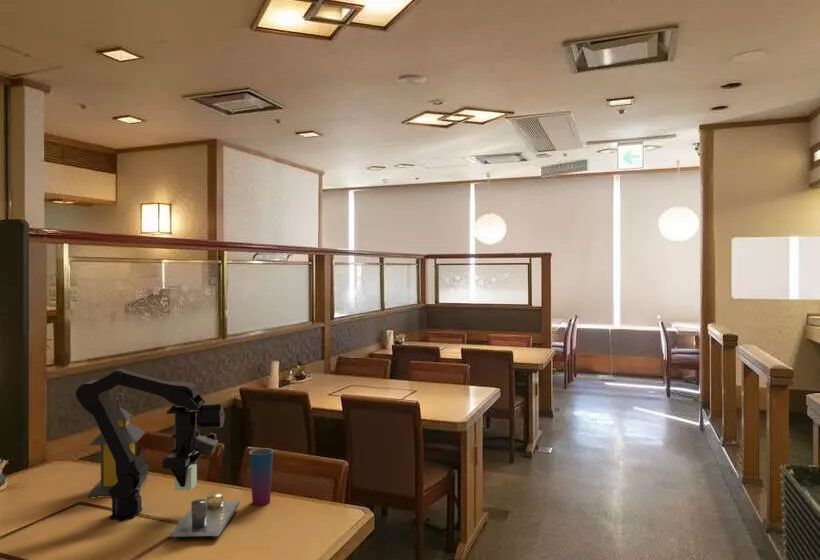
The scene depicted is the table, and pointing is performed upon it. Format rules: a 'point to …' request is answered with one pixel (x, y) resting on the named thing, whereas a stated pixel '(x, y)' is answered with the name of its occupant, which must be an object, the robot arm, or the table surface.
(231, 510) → the grey flat plate
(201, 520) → the black peg
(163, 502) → the table surface
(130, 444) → the lantern
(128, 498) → the robot arm
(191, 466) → the green block
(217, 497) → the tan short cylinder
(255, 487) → the cup
